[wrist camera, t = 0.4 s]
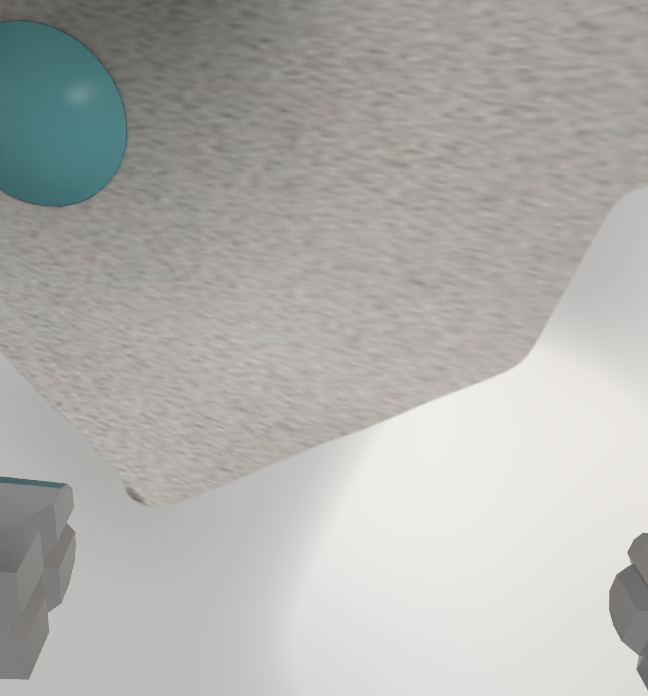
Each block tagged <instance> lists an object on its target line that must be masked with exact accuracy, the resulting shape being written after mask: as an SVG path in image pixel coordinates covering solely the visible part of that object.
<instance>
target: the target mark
mask: <svg viewBox="0 0 648 696" xmlns="http://www.w3.org/2000/svg"><path fill="white" fill-rule="evenodd" d="M126 137H127V126H126V116H125V111H124V106H123V103H122V100H121V97H120V94H119V92H118V90H117V88H116V85H115V83H114V81H113V80H112V78H111V77H110V75H109V73H108V72H107V70H106V69H105V68H104V66H103V65H102V64H101V62H100V61H99V60H98V59H97V58H96V57H95V56H94V55H93V54H92V53H91V52H90V51H89V50H88V49H87V48H86V47H85V46H83V45H82V44H81V43H80V42H78V41H77V40H75V39H74V38H72V37H71V36H69V35H68V34H66V33H64V32H62V31H60V30H58V29H55V28H53V27H50V26H47V25H44V24H39V23H35V22H27V21H10V22H3V23H0V189H1V190H2V191H4V192H6V193H8V194H9V195H11V196H14V197H16V198H18V199H21V200H23V201H27V202H30V203H34V204H39V205H46V206H61V205H69V204H73V203H77V202H80V201H83V200H85V199H87V198H89V197H91V196H93V195H94V194H96V193H97V192H98V191H100V190H101V189H102V188H104V186H105V185H106V184H107V183H108V182H109V181H110V180H111V179H112V177H113V176H114V175H115V173H116V171H117V169H118V167H119V166H120V164H121V161H122V158H123V155H124V151H125V146H126Z"/></svg>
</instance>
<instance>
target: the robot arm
mask: <svg viewBox="0 0 648 696" xmlns="http://www.w3.org/2000/svg"><path fill="white" fill-rule="evenodd" d="M73 508H74V505H73V494H72V488H71V487H70V486H69V485H68V484H64V483H55V482H46V481H36V480H27V479H18V478H9V477H0V679H29V678H30V675H31V673H32V671H33V668H34V666H35V664H36V661H37V659H38V657H39V654H40V652H41V650H42V647H43V645H44V643H45V640H46V638H47V636H48V633H49V627H48V626H49V625H48V612H50V611H51V610H52V609H54V608H55V607H56V606H58V605H59V604H61V602H62V600H63V598H64V595H65V593H66V590H67V588H68V585H69V582H70V578H71V573H72V569H73V565H74V559H75V548H76V540H75V531H74V530H73V529H72V528H71V527H70V526H69V525H68V524H67V520H68V518H69V516H70V514H71V512H72V510H73ZM628 555H629V558H630V560H631V563H632V564H631V565H630V566H628V567H627V568H626V569H624V570H622V571H621V572H620V573H618V574H617V575H616V577H615V580H614V582H613V584H612V587H611V589H610V591H609V592H610V593H609V596H610V597H609V598H610V599H609V610H610V614H611V618H612V622H613V625H614V627H615V629H616V631H617V633H618V635H619V637H620V639H621V641H622V642H623V643H625V644H626V645H627V646H628V647H630V648H631V649H632V650H633V651H634V652H635V653H637V654H638V655H639V659H638V665H637V671H638V673H639V675H640V676H641V678H642V680H643V682H644V684H645V686H646V688H647V689H648V533H642V534H641V535H640V536H638V537H637V538H636V539H634V541H633V543H632V545H631V547H630V548H629V550H628Z"/></svg>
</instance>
